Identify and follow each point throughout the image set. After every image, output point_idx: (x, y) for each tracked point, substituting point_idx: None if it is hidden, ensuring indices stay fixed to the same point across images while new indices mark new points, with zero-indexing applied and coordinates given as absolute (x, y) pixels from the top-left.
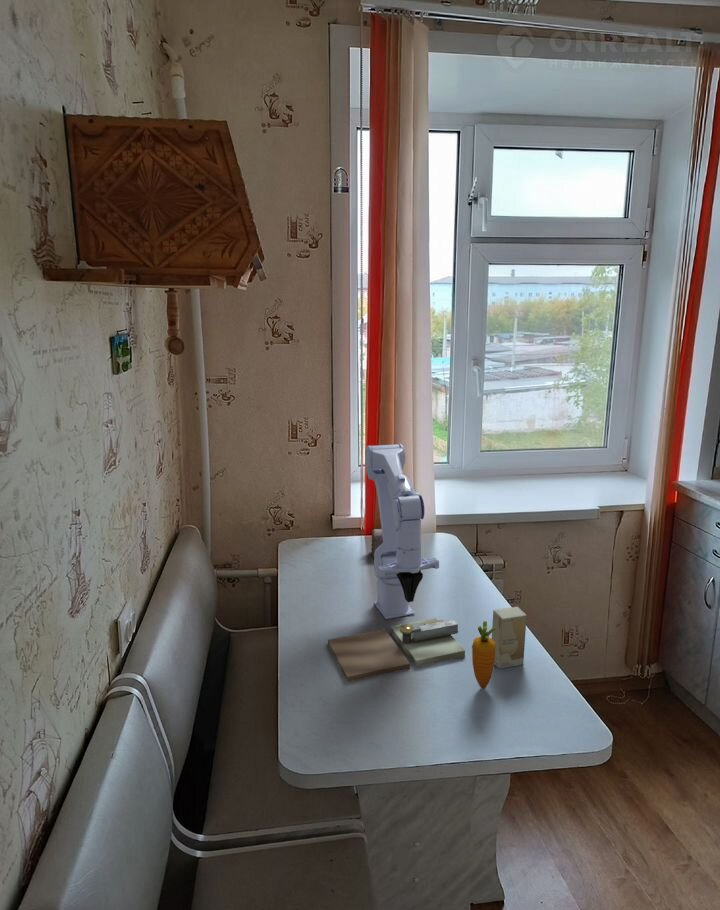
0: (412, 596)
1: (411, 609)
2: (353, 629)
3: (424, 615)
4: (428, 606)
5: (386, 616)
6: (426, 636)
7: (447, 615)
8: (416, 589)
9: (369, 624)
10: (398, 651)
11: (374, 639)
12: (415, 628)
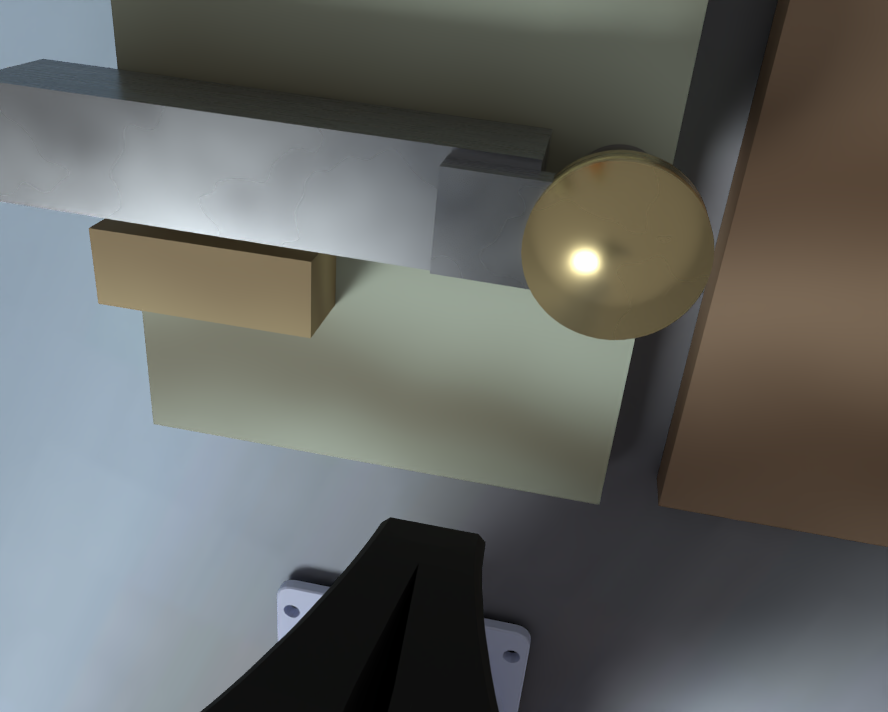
0: (386, 580)
1: (283, 628)
2: (862, 646)
3: (217, 529)
4: (141, 605)
5: (516, 649)
6: (397, 117)
7: (45, 444)
8: (248, 670)
9: (692, 637)
10: (801, 78)
11: (871, 407)
12: (507, 200)
